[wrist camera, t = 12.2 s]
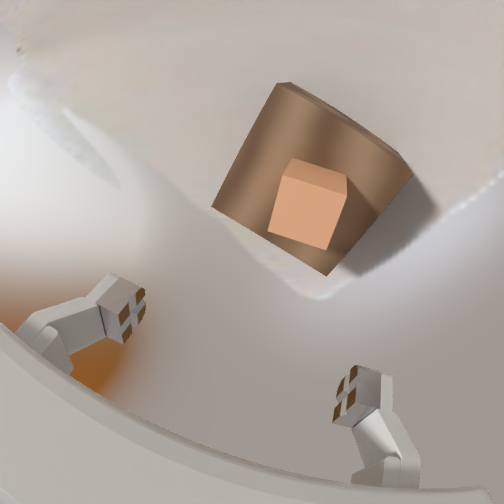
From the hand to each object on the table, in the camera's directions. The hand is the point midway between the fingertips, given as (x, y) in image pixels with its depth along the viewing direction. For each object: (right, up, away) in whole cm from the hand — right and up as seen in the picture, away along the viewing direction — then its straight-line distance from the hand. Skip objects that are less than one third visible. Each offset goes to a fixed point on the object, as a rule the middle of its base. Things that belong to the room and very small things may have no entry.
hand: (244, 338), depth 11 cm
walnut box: (+7, +13, +23) cm, 27 cm away
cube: (+6, +9, +17) cm, 20 cm away
